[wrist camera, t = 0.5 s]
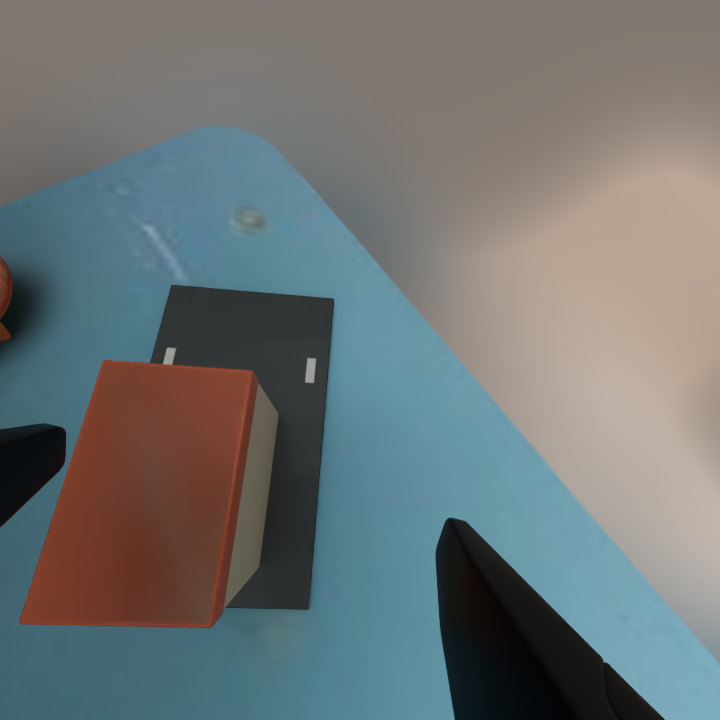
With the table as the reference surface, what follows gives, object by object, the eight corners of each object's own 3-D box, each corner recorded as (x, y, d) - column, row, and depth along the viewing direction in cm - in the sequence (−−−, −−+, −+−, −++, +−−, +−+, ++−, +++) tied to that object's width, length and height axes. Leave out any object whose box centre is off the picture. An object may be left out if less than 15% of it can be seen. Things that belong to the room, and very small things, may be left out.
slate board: (308, 606, 20) (308, 610, 19) (90, 601, 19) (83, 605, 19) (333, 301, 27) (333, 297, 26) (173, 288, 26) (170, 283, 25)
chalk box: (260, 568, 20) (211, 629, 12) (150, 565, 20) (16, 625, 11) (279, 412, 23) (253, 369, 15) (185, 406, 23) (102, 359, 14)
